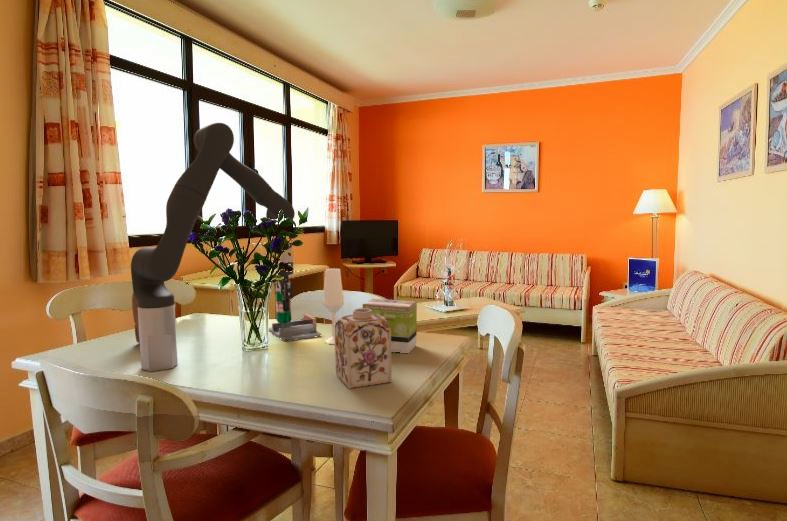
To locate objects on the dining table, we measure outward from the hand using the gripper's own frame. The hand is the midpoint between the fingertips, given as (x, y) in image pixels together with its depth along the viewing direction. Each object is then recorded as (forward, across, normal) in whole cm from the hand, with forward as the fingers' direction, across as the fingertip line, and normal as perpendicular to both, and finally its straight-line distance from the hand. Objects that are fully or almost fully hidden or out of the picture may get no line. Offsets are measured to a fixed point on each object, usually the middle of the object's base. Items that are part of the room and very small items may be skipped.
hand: (283, 309), depth 173 cm
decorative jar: (+9, -55, -3) cm, 56 cm away
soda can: (+5, 0, 0) cm, 5 cm away
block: (+9, +11, +41) cm, 43 cm away
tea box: (+9, -34, -23) cm, 42 cm away
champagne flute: (+9, -18, -11) cm, 23 cm away
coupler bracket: (+9, 0, -4) cm, 10 cm away
